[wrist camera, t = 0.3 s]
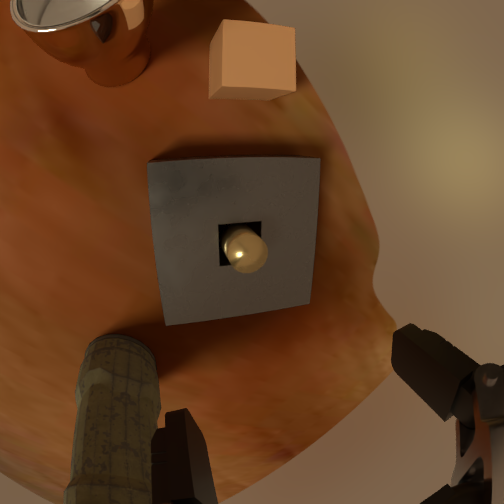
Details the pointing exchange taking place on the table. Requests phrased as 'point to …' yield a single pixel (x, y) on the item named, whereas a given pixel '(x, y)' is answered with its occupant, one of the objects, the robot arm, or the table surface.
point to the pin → (243, 248)
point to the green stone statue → (114, 423)
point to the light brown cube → (252, 61)
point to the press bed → (225, 212)
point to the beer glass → (90, 34)
